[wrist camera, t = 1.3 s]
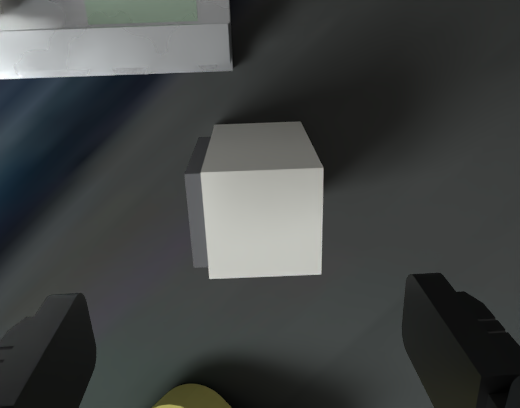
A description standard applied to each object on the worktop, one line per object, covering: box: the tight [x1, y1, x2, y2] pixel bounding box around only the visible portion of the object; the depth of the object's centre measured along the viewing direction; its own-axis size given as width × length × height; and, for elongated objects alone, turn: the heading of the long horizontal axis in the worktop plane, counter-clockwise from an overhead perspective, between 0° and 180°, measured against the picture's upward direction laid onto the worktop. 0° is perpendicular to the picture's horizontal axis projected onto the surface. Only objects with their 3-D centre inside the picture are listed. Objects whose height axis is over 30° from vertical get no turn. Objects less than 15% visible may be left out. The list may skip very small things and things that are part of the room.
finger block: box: [184, 121, 324, 279], centre depth 19 cm, size 5×4×7 cm
